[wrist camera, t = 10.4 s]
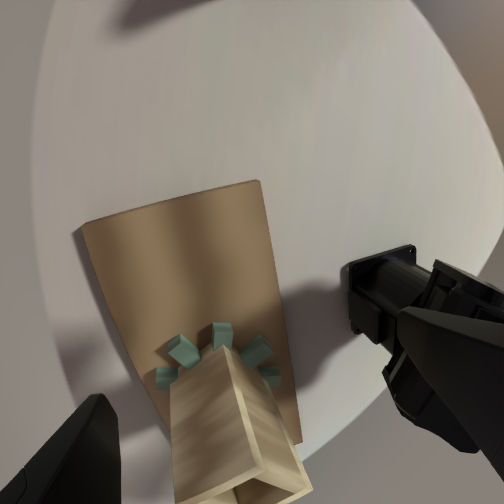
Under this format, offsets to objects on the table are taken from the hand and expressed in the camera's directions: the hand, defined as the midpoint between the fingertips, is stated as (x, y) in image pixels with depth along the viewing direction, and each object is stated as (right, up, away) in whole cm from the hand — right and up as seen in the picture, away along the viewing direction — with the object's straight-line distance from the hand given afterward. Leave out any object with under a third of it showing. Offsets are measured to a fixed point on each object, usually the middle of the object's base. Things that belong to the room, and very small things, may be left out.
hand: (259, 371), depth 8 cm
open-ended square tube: (-3, -6, +14) cm, 15 cm away
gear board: (-3, -5, +15) cm, 16 cm away
